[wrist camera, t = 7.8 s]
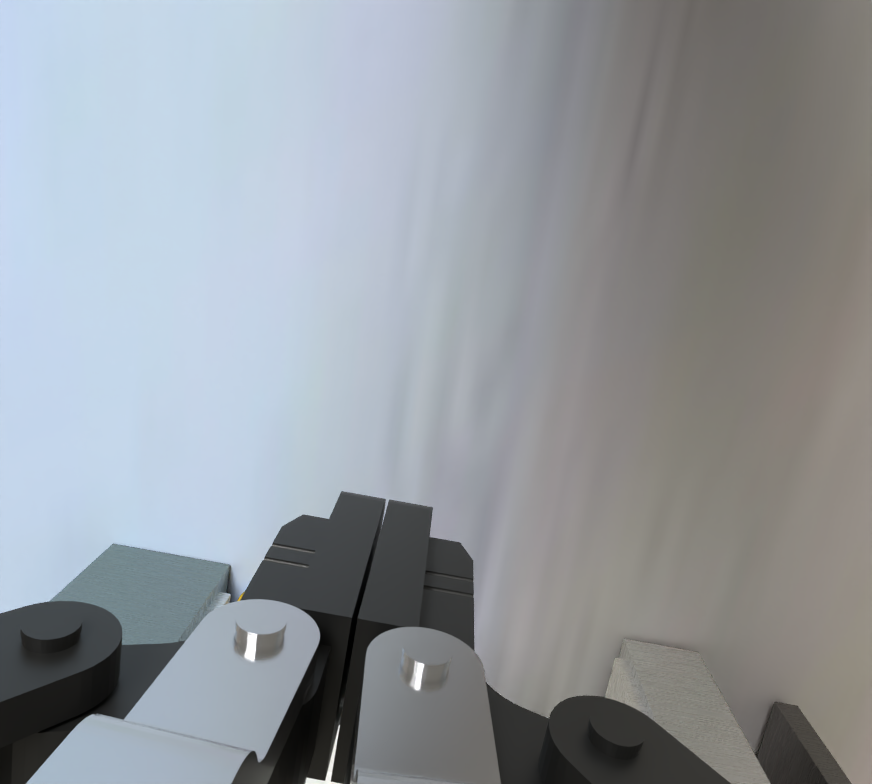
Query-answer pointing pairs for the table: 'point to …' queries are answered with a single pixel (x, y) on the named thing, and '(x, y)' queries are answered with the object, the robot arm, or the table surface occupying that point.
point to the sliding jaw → (718, 719)
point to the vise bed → (151, 592)
